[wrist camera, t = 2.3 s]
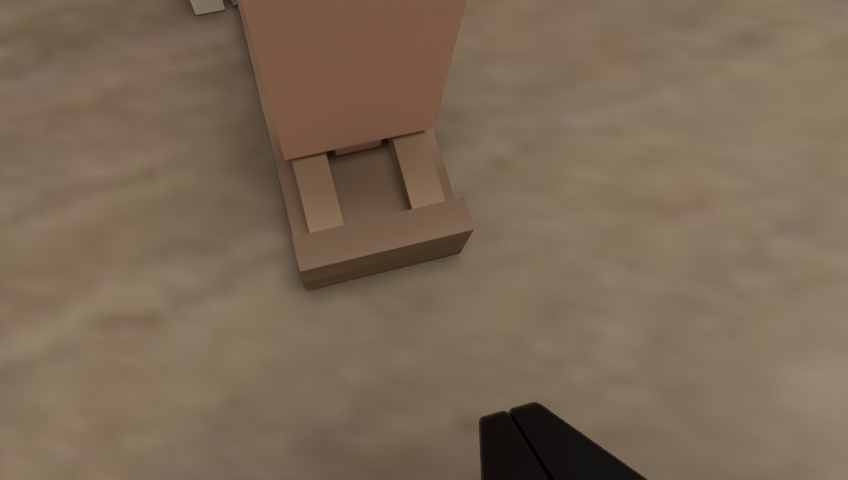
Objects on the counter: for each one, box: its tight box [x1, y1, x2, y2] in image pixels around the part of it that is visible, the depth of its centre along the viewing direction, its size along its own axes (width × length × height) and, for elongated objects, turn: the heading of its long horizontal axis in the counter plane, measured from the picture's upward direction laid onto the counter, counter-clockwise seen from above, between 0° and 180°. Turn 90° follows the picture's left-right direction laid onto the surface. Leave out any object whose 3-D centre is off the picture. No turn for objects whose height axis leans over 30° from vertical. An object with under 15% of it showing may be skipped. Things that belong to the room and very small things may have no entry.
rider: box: [241, 0, 466, 160], centre depth 17 cm, size 4×4×10 cm
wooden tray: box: [231, 0, 474, 291], centre depth 22 cm, size 16×5×3 cm, turn 15°
